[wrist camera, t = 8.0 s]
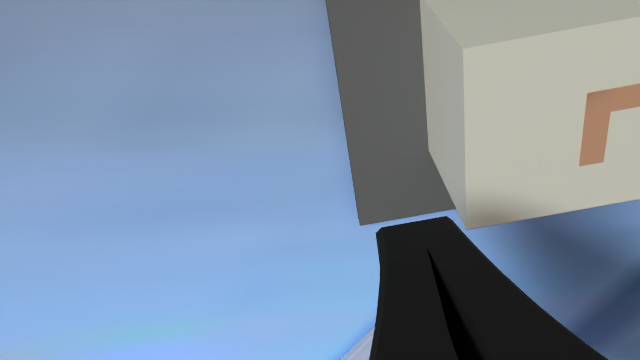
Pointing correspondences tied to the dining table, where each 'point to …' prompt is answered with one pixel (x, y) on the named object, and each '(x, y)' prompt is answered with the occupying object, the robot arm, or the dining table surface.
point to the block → (532, 104)
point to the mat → (385, 108)
